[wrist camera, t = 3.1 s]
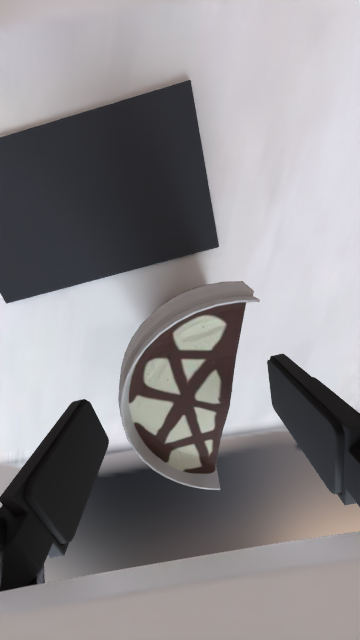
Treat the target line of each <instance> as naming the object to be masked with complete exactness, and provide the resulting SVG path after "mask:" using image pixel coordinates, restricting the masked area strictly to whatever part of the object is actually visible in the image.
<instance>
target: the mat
mask: <svg viewBox="0 0 360 640" xmlns="http://www.w3.org/2000/svg"><path fill="white" fill-rule="evenodd" d="M216 247H219V245H218V239H217V233H216V227H215V221H214V216H213V210H212V204H211V198H210V192H209V186H208V180H207V174H206V169H205V163H204V157H203V151H202V145H201V139H200V133H199V128H198V122H197V116H196V110H195V104H194V98H193V92H192V87H191V81H190V80H188V81H185V82H182V83H178V84H175V85H172V86H169V87H165V88H162V89H159V90H155V91H152V92H149V93H146V94H142V95H139V96H136V97H132V98H129V99H126V100H122V101H119V102H116V103H113V104H109V105H106V106H103V107H99V108H96V109H93V110H90V111H86V112H83V113H80V114H76V115H73V116H70V117H67V118H63V119H60V120H57V121H53V122H50V123H47V124H43V125H40V126H37V127H34V128H30V129H27V130H24V131H20V132H17V133H14V134H11V135H7V136H4V137H1V138H0V293H1V295H2V297H3V298H4V300H5V302H6V303H10V302H14V301H17V300H21V299H25V298H29V297H32V296H36V295H40V294H44V293H47V292H51V291H55V290H59V289H62V288H66V287H70V286H74V285H77V284H81V283H85V282H89V281H92V280H96V279H100V278H104V277H107V276H111V275H115V274H119V273H122V272H126V271H130V270H134V269H137V268H141V267H145V266H149V265H152V264H156V263H160V262H164V261H167V260H171V259H175V258H179V257H182V256H186V255H190V254H194V253H197V252H201V251H205V250H209V249H212V248H216Z"/></svg>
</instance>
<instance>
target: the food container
mask: <svg viewBox="0 0 360 640" xmlns="http://www.w3.org/2000/svg"><path fill="white" fill-rule="evenodd" d="M253 293H254V291H253V290H252V289H251V288H250V287H249V286H247V285H246V284H245V283H244V282H243V281H238V282H220V283H214V284H209V285H204V286H201V287H198V288H195V289H192V290H189V291H186V292H184V293H182V294H180V295H178V296H176V297H175V298H173V299H171V300H169V301H167V302H166V303H165V304H163V305H162V306H161V307H159V308H158V309H157V310H155V311H154V312H153V313H152V314H151V315H150V316H149V317H148V318H147V319H146V320H145V321H144V322H143V323H142V324H141V326H140V327H139V329H138V330H137V332H136V333H135V334H134V336H133V337H132V339H131V341H130V343H129V345H128V348H127V350H126V352H125V355H124V359H123V363H122V367H121V375H120V384H119V399H118V400H119V407H120V415H121V417H122V424H123V427H124V430H125V433H126V436H127V439H128V440H129V442H130V444H131V446H132V447H133V449H134V451H135V452H136V453H137V454H138V455H139V457H140V458H141V459H142V460H143V461H144V462H145V463H146V464H147V465H149V466H150V467H151V468H152V469H153V470H155V471H156V472H158V473H159V474H161V475H163V476H164V477H166V478H168V479H171V480H173V481H175V482H178V483H181V484H184V485H187V486H191V487H196V488H202V489H212V490H220V485H219V480H218V474H217V469H216V464H217V455H218V449H219V444H220V439H221V435H222V431H223V427H224V424H225V421H226V417H227V414H228V410H229V406H230V399H231V392H232V382H233V375H234V367H235V360H236V354H237V348H238V343H239V338H240V332H241V327H242V321H243V316H244V311H245V305H246V302H259V301H260V300H259V299H257V298H255V297H253Z"/></svg>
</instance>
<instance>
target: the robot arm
mask: <svg viewBox="0 0 360 640" xmlns="http://www.w3.org/2000/svg"><path fill="white" fill-rule="evenodd" d="M267 364H268V373H269V382H270V390H271V399H272V405H273V408H274V410H275V411H276V413H277V414H278V416H279V417H280V419H281V420H282V422H283V423H284V424H285V426H286V427H287V429H288V430H289V432H290V433H291V435H292V436H293V438H294V439H295V441H296V442H297V444H298V445H299V447H300V448H301V450H302V451H303V452H304V454H305V455H306V457H307V458H308V460H309V461H310V462H311V464H312V466H313V467H314V469H315V470H316V472H317V473H318V474H319V476H320V477H321V479H322V480H323V482H324V483H325V485H326V486H327V488H328V489H329V490H330V491H331V493H333V494H338V496H339V497H340V499H341V500H342V502H343V503H344V505H348V504H354V503H357V504H358V505H359V506H360V413H358V412H357V411H356V410H355V409H353V408H352V407H351V406H350V405H348V404H347V403H346V402H345V401H344V400H342V399H341V398H340V397H339V396H337V395H336V394H335V393H334V392H332V391H331V390H330V389H329V388H328V387H326V386H325V385H324V384H323V383H321V382H320V381H319V380H317V379H316V378H314V377H311V376H310V375H309V374H308V373H306V372H305V371H304V370H303V369H302V368H300V367H299V366H298V365H297V364H296V363H294V362H293V361H292V360H291V359H289V358H288V357H287V356H286V355H284V354H279V355H275V356H271V357H270V360H268V361H267ZM108 444H109V440H108V437H107V435H106V433H105V431H104V429H103V427H102V425H101V423H100V421H99V419H98V417H97V415H96V413H95V411H94V409H93V407H92V405H91V403H90V402H89V401H87V400H85V399H83V400H78V401H74V402H72V403H71V404H70V405H69V407H68V408H67V409H66V411H65V412H64V413H63V415H62V416H61V417H60V419H59V420H58V421H57V423H56V424H55V425H54V427H53V428H52V429H51V431H50V432H49V433H48V435H47V436H46V437H45V438H44V440H43V441H42V442H41V444H40V445H39V446H38V448H37V449H36V450H35V452H34V453H33V454H32V456H31V457H30V458H29V460H28V461H27V462H26V464H25V465H24V466H23V467H22V469H21V470H20V471H19V473H18V474H17V475H16V477H15V478H14V479H13V481H12V482H11V483H10V485H9V486H8V487H7V489H6V490H5V491H4V493H3V494H2V495H1V496H0V502H1V503H2V504H3V505H2V507H1V508H0V640H360V532H352V533H344V534H337V535H331V536H323V537H317V538H309V539H301V540H294V541H288V542H283V543H276V544H271V545H264V546H258V547H252V548H246V549H240V550H234V551H227V552H221V553H216V554H209V555H203V556H197V557H191V558H186V559H180V560H174V561H168V562H162V563H156V564H150V565H145V566H139V567H133V568H127V569H122V570H116V571H110V572H105V573H98V574H93V575H88V576H82V577H76V578H70V579H65V580H60V581H54V582H48V583H45V579H44V562H45V560H46V558H47V555H48V556H49V557H50V558H52V557H58V556H64V554H65V552H66V549H67V547H68V544H69V542H70V541H71V540H72V539H73V537H74V535H75V533H76V530H77V527H78V525H79V522H80V519H81V516H82V514H83V511H84V509H85V506H86V503H87V500H88V498H89V495H90V493H91V490H92V487H93V485H94V482H95V479H96V477H97V474H98V471H99V469H100V466H101V463H102V461H103V458H104V456H105V453H106V450H107V448H108Z"/></svg>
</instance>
